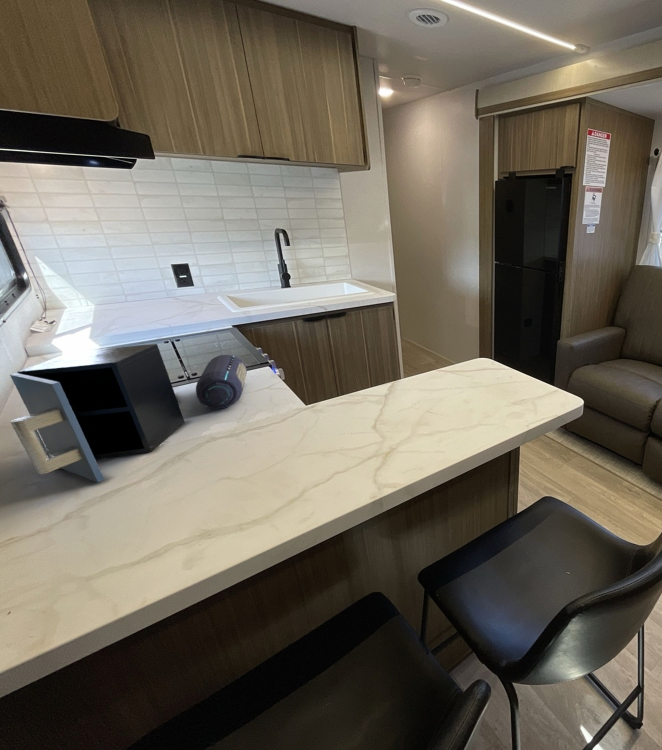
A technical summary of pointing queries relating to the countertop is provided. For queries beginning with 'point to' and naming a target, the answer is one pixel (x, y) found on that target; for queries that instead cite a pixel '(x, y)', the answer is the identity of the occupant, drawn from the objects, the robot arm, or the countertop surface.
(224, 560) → the countertop surface
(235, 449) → the countertop surface
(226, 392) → the portable speaker
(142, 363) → the box
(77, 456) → the freezer door
